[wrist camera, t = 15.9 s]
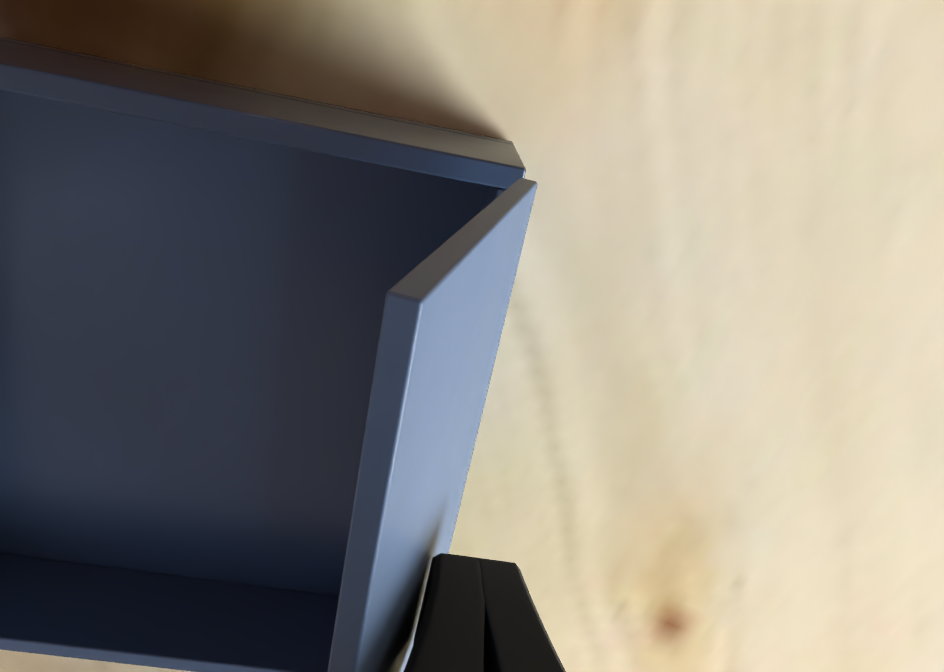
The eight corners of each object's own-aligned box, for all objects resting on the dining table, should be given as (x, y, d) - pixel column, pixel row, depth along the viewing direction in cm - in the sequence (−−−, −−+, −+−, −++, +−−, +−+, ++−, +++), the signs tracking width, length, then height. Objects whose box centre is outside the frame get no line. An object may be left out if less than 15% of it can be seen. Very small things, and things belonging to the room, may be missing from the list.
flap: (519, 177, 10) (538, 181, 10) (395, 717, 15) (408, 721, 15) (385, 290, 5) (423, 302, 5) (267, 1048, 10) (285, 1056, 10)
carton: (513, 141, 13) (526, 168, 11) (411, 604, 18) (404, 696, 16) (-122, 11, 12) (-278, 7, 9) (-36, 547, 17) (-121, 636, 15)
